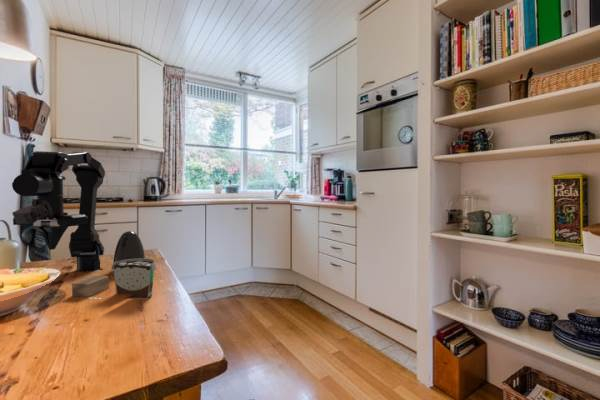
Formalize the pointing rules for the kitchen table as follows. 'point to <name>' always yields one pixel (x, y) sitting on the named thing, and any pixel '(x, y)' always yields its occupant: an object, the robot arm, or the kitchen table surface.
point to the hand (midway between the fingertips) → (52, 249)
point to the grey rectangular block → (90, 286)
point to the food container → (134, 277)
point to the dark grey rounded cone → (129, 247)
